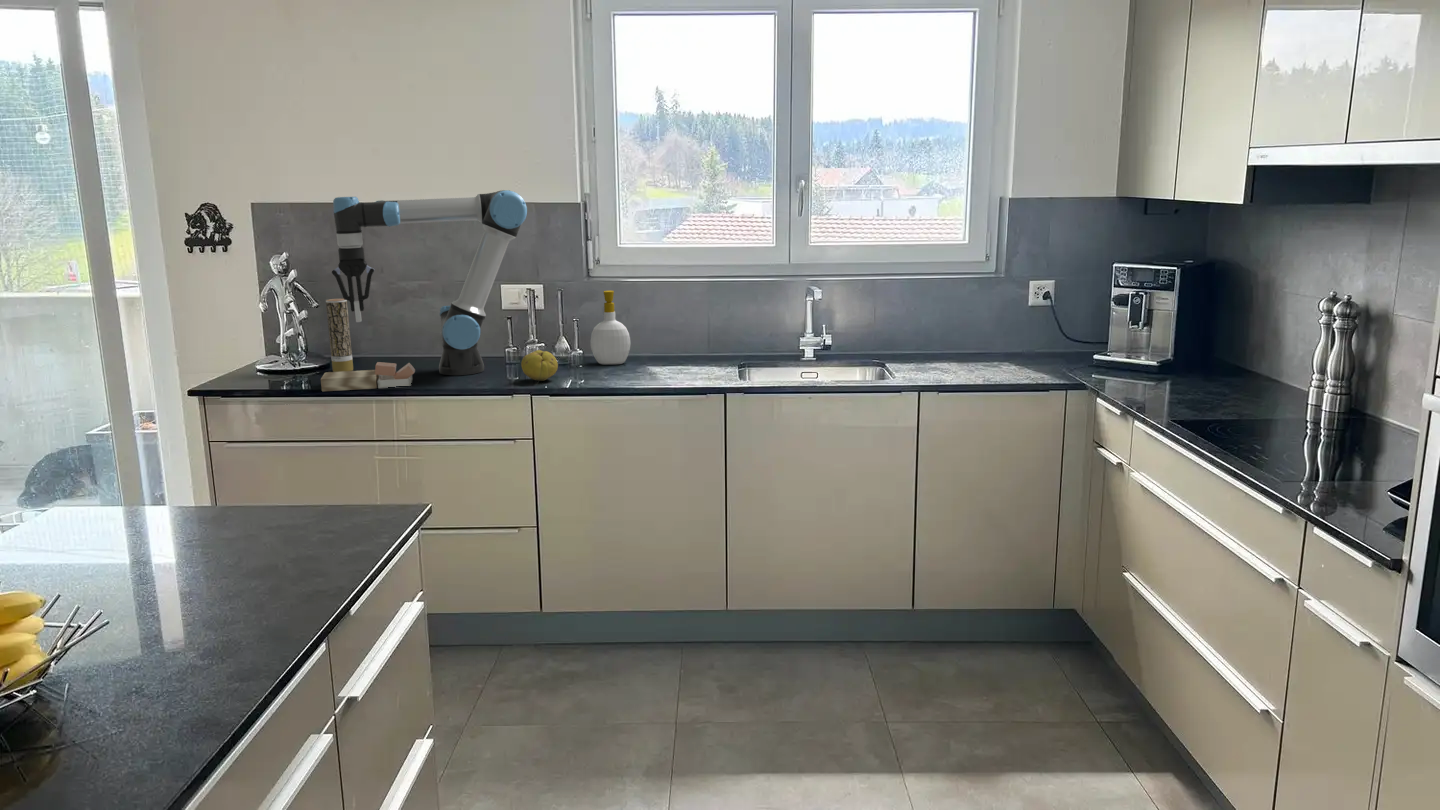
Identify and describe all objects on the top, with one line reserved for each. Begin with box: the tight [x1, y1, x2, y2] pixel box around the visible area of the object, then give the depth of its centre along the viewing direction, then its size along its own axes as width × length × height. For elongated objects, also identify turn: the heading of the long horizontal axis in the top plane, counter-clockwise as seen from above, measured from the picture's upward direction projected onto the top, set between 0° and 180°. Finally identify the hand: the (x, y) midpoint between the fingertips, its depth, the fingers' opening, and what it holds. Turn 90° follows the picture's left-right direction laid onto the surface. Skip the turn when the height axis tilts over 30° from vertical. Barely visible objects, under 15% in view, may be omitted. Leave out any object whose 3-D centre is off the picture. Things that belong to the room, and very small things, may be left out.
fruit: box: [520, 349, 559, 382], centre depth 329 cm, size 11×12×10 cm
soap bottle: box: [589, 290, 631, 366], centre depth 356 cm, size 14×9×26 cm, turn 88°
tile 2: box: [394, 362, 416, 379], centre depth 328 cm, size 6×6×3 cm
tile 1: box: [374, 361, 397, 376], centre depth 326 cm, size 6×6×3 cm
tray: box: [377, 374, 413, 389], centre depth 327 cm, size 10×12×2 cm
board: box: [320, 369, 380, 392], centre depth 324 cm, size 16×11×4 cm, turn 104°
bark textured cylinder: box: [325, 298, 354, 372], centre depth 346 cm, size 7×7×25 cm
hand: (358, 321), depth 321 cm, fingers closed
